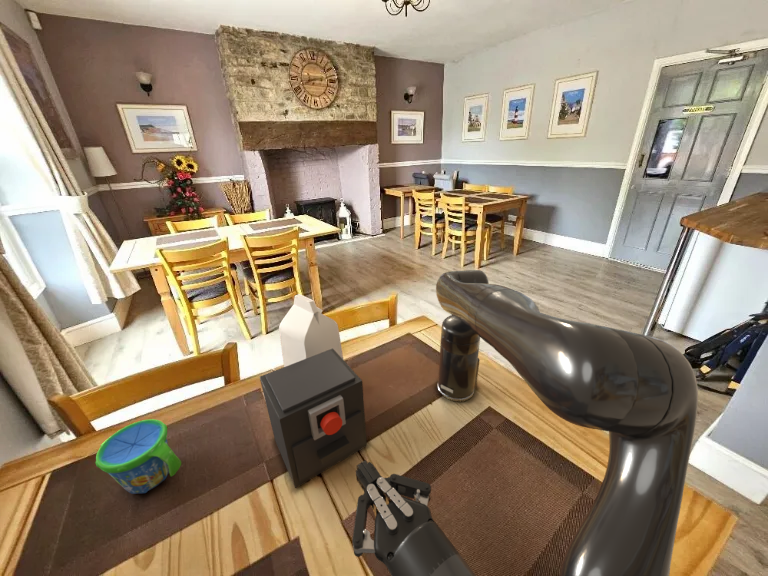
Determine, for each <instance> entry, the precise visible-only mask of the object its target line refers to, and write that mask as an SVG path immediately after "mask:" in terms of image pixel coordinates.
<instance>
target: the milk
mask: <svg viewBox="0 0 768 576" xmlns="http://www.w3.org/2000/svg"><path fill="white" fill-rule="evenodd" d="M323 311H324V310H323V309H322V308H320V307H318V306H317V305H316V302H315V300H314V299H311V298H309V297H307V296H305V295H303V294H300V293H298V294H296V295H294V298H293V304H292V306H291V307H290V308H289V310H288V311H287V313H286V314H285V316H284V317H283V319H282V320H281V321H280V323H279V326H278V332H279V333H278V334H279V339H280V346H281V347H280V348H281V354H282V355H281V356H282V363H283V367H286V366H288V365H291V364H294V363H296V362H299V361H301V360H304V359H306V358H309V357H312V356H314V355H317V354H319V353H322V352H325V351H327V350H330V349H332V348H333V349H334V350H335V351H336V352H337V353H338V355H339V356H340V357H341V358H342V359H343V360H344V355H343V348H342V342H341V335H340V329H339V324H338V323H337V322H336V320H335V319H333V318H331V317H329V316H328V315H325V314H323Z"/></svg>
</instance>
